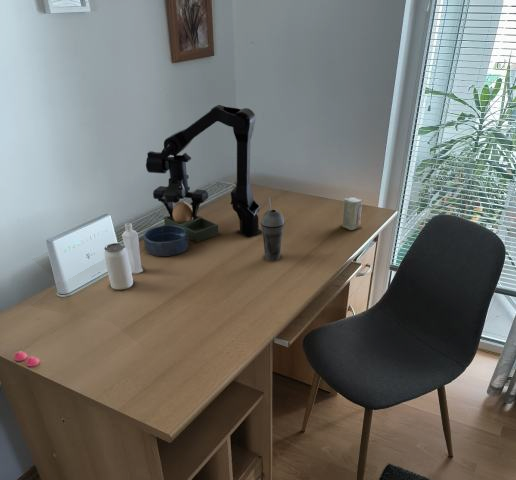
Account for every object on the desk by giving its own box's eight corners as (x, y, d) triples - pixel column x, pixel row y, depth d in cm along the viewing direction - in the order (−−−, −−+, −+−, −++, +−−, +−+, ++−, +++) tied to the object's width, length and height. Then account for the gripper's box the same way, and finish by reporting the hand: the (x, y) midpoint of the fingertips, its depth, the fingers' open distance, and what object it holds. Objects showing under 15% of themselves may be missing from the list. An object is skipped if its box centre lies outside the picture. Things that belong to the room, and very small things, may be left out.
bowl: (197, 247, 166) (195, 233, 163) (161, 261, 158) (159, 246, 155) (172, 235, 174) (170, 221, 171) (137, 247, 166) (135, 233, 164)
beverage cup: (284, 262, 156) (285, 200, 144) (261, 262, 156) (260, 200, 144) (283, 252, 162) (284, 191, 150) (261, 252, 162) (260, 192, 150)
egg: (185, 230, 176) (183, 207, 171) (169, 226, 179) (166, 203, 174) (198, 223, 181) (196, 200, 176) (182, 219, 184) (180, 197, 179)
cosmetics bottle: (360, 227, 177) (363, 200, 171) (351, 230, 175) (353, 202, 169) (350, 223, 180) (352, 196, 175) (341, 226, 179) (343, 198, 173)
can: (137, 281, 147) (130, 244, 140) (126, 291, 142) (118, 253, 135) (118, 278, 149) (111, 241, 142) (106, 288, 144) (98, 250, 137)
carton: (218, 234, 174) (218, 224, 172) (196, 242, 169) (195, 232, 167) (186, 219, 186) (186, 210, 184) (165, 226, 181) (163, 217, 178)
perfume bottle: (147, 268, 154) (139, 222, 145) (138, 274, 151) (130, 228, 142) (135, 266, 156) (126, 220, 147) (126, 272, 152) (117, 225, 144)
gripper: (142, 179, 165) (149, 223, 174) (194, 183, 161) (198, 229, 170) (157, 169, 174) (163, 212, 183) (207, 173, 169) (210, 217, 178)
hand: (183, 217), depth 178 cm, fingers open, 8 cm apart
